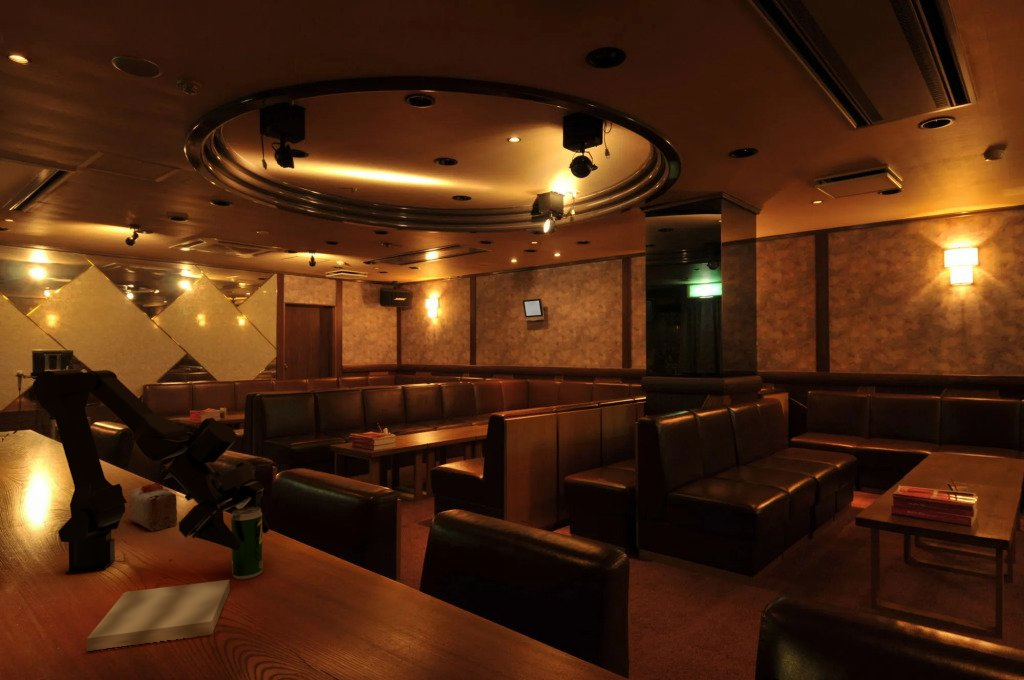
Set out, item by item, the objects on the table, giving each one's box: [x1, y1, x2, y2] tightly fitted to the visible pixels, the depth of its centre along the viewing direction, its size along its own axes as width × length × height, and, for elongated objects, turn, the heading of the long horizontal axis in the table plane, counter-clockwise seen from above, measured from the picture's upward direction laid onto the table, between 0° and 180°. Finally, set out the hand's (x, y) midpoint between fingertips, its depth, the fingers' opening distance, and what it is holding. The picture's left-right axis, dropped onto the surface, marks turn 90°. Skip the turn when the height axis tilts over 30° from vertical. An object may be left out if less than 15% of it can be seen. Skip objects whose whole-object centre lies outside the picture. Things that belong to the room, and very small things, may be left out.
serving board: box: [86, 579, 231, 652], centre depth 94 cm, size 16×16×2 cm
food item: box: [129, 482, 178, 532], centre depth 143 cm, size 14×8×10 cm, turn 51°
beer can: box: [230, 507, 264, 581], centre depth 111 cm, size 5×5×12 cm
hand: (253, 539), depth 111 cm, fingers open, 9 cm apart
